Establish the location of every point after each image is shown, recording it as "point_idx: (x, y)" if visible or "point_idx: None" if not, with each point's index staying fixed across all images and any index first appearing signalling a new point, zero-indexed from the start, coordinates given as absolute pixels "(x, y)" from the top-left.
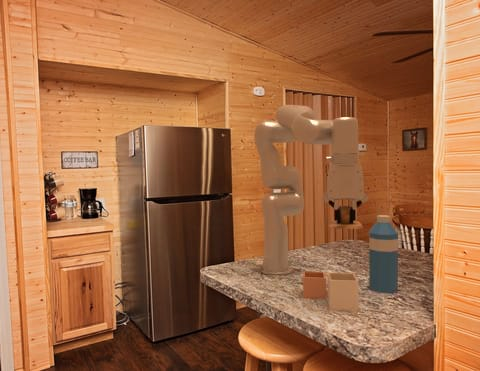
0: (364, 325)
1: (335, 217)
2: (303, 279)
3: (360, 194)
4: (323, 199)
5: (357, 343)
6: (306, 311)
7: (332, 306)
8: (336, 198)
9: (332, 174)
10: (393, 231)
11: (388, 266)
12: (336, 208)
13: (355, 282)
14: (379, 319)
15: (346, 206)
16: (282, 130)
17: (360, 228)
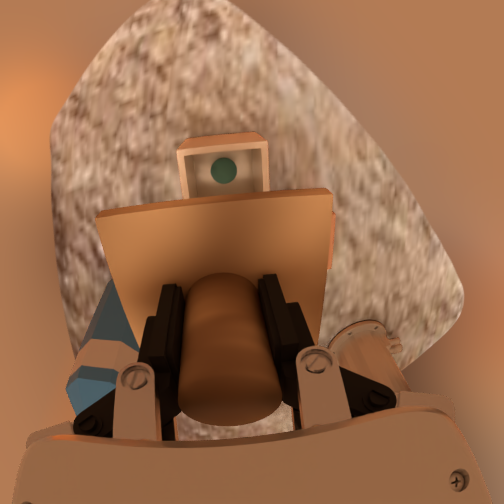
0: (177, 69)
1: (296, 310)
2: (332, 212)
3: (36, 474)
4: (440, 404)
5: None
6: (308, 121)
7: (249, 133)
8: (360, 421)
9: None
10: (72, 393)
11: (106, 310)
12: (309, 358)
13: (186, 148)
14: (142, 111)
15: (215, 409)
16: None
17: (115, 209)
